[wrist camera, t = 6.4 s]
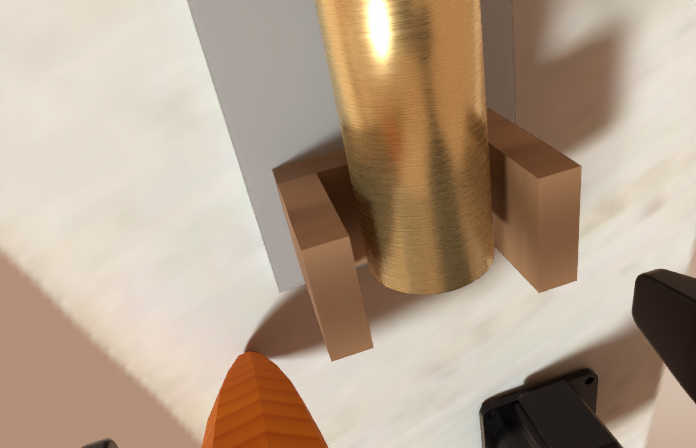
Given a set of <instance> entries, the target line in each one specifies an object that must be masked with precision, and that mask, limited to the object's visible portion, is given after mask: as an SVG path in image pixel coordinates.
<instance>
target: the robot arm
mask: <svg viewBox="0 0 696 448" xmlns="http://www.w3.org/2000/svg"><path fill="white" fill-rule="evenodd" d="M632 316H633V319H634V321H635V323H636V325H637V326H638V328H639V329H640V330H641V332H642V333H643V335H644V336H645V337H646V339H647V340H648V341H649V343H650V344H651V345H652V347H653V348H654V350H655V351H656V352H657V354H658V355H659V356H660V358H661V359H662V360H663V362H664V363H665V365H666V366H667V367H668V369H669V370H670V371H671V373H672V374H673V376H674V377H675V378H676V380H677V381H678V382H679V384H680V385H681V386H682V388H683V389H684V390H685V391H686V393H687V394H688V395H689V396H690V398H691V399H692V400H693V401H694V402H695V404H696V278H693V277H690V276H686V275H683V274H679V273H676V272H673V271H669V270H666V269H655V270H652V271H649V272H646V273H642V274H640V275H639V276H638V277H637V279H636V281H635V288H634V296H633V304H632ZM597 385H598V375H597V374H596V373H595V372H594V371H593V370H592V369H590V368H587V369H583V370H580V371H577V372H575V373H572V374H569V375H566V376H563V377H561V378H558V379H555V380H552V381H549V382H546V383H544V384H541V385H538V386H535V387H532V388H529V389H527V390H524V391H521V392H518V393H515V394H512V395H510V396H507V397H504V398H501V399H498V400H496V401H493V402H490V403H487V404H485V405H484V406H483V407H481V409H480V411H479V416H480V427H481V438H482V448H623V447H622V446H621V444H620V443H619V442H618V441H617V439H616V438H615V437H614V436H613V435H612V433H611V432H610V431H609V430H608V429H607V427H606V426H605V425H604V424H603V423H602V421H601V420H600V419H599V418H598V417H597V415H596V414H595V413H596V399H597ZM82 448H118V447H117V445H116V443H115V442H114V441H113V440H112V439H109V438H106V439H102V440H99V441H96V442H93V443H90V444H86V445H84V446H83V447H82Z"/></svg>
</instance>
